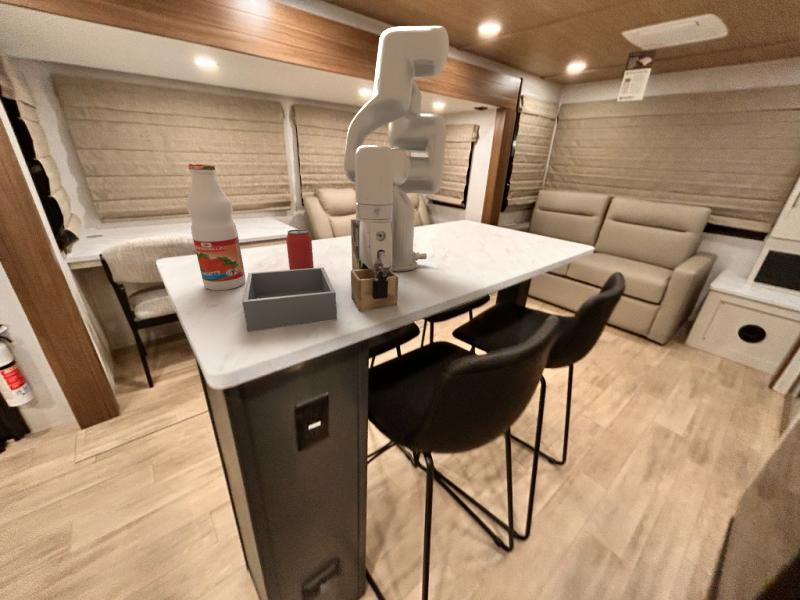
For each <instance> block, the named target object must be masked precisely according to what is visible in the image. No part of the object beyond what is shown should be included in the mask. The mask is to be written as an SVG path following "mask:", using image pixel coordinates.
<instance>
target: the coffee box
mask: <svg viewBox="0 0 800 600" xmlns="http://www.w3.org/2000/svg"><path fill="white" fill-rule="evenodd" d="M350 237H351V238H350V240H351V241H350V243H351V268H352V270H361V261H362V260H361V258H360V249H359V237H360V221H358V220H356V219H350ZM378 266H381V265H378Z"/></svg>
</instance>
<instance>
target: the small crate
mask: <svg viewBox="0 0 800 600" xmlns="http://www.w3.org/2000/svg"><path fill="white" fill-rule="evenodd" d="M388 272H389V275H388V296H387V298H380V299H374V298H373V281H374V275H373V270H371V269H362V270H350V291H351V292H350V293H351V300H352V302H353V304H354V306H355V307H356V308H357V309H356V310H358V312H359V311H367V310H376V309H383V308H391V307H397V306H398V297H399V296H398V295H399V293H398V292H399V276H398V275H397V274H396V273H395V271H391V270H390V269H389V271H388ZM378 273H379V271H377V275H378Z"/></svg>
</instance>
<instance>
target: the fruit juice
mask: <svg viewBox="0 0 800 600" xmlns="http://www.w3.org/2000/svg"><path fill="white" fill-rule="evenodd" d="M188 169H189V172H190V173H191V185H190V192H189V194H188V196H187V198H186V201H185V205H186V206H185V207H186V211H187V212H188V214H189V216H190V219H191V224H190V225H191V227H190V230H191V236H192V240H193V245H194V247H195V252H196V253H195V254H196V257H197V261H198V266H199V269H200V274H201V279H202V283H203V285H204V288H206V289H207V290H211V291H226V290H232V289H235V288H240V287H241V286H243V285H244V284H246V274H245V268H244V261H243V257H242V251H241V246H240V240H239V232H238V229H237V225H236V223H235V222H234V219H233V210H234V207H233V205H232V202H231V200H230V198H229V196H228V195H226V194H225V192H224V191H223V189H222V187H221V185H220V183H219V181H218V180H217V177H216V167H215V165H214V164H211V163H210V164H208V163H207V164H206V163H205V164H204V163H188Z"/></svg>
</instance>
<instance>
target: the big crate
mask: <svg viewBox="0 0 800 600" xmlns="http://www.w3.org/2000/svg"><path fill="white" fill-rule="evenodd" d="M242 307H243V312H244V318H245V322H246V323H245V324H246V329H247V332H253V331H260V330H262V331H263V330H268V329H275V328H276V329H277V328H284V327H291V326H298V325H306V324H307V325H308V324H313V323H314V324H315V323H320V322H321V323H322V322H329V321H335V320H338V315H337V314H338V311H337V293H336V290H335V288H334V286H333V284H332V281H331V280H330V277H329V276H328V273H327V272H326V269H325V268H324V267H314V268H308V269H294V270H290V269H284V270H282V269H281V270H269V271H257V272H254V271H253V272H248V273H247V278H246V281H245V287H244V293H243V298H242Z"/></svg>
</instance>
